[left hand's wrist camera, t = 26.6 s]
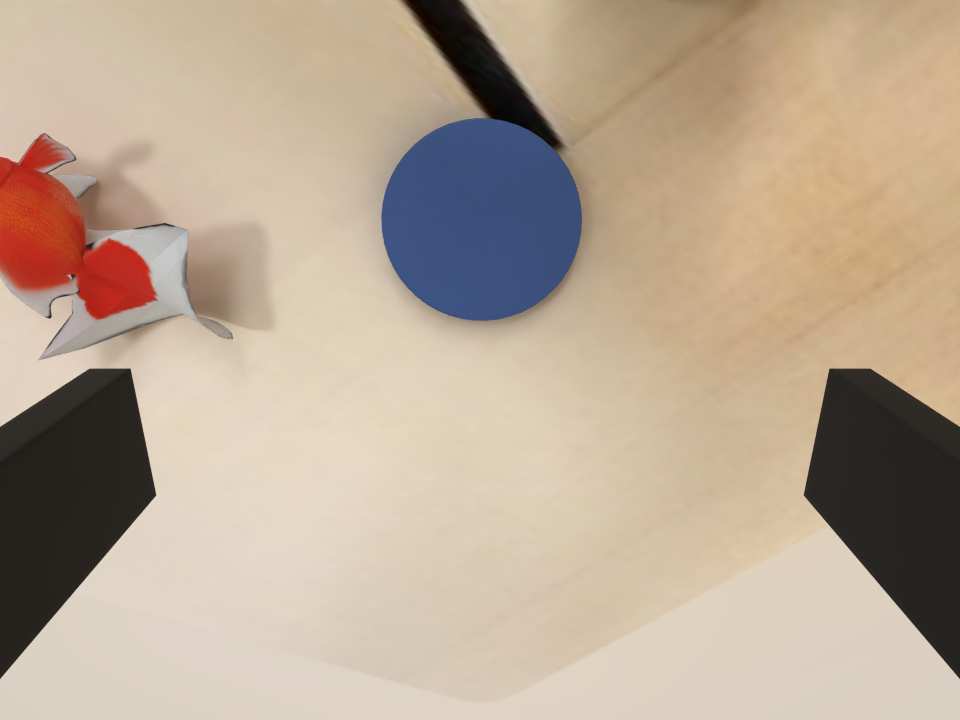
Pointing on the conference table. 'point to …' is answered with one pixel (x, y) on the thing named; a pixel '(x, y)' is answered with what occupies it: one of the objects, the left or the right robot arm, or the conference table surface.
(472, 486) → the conference table surface
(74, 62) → the conference table surface
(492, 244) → the lid
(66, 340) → the fish
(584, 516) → the conference table surface
